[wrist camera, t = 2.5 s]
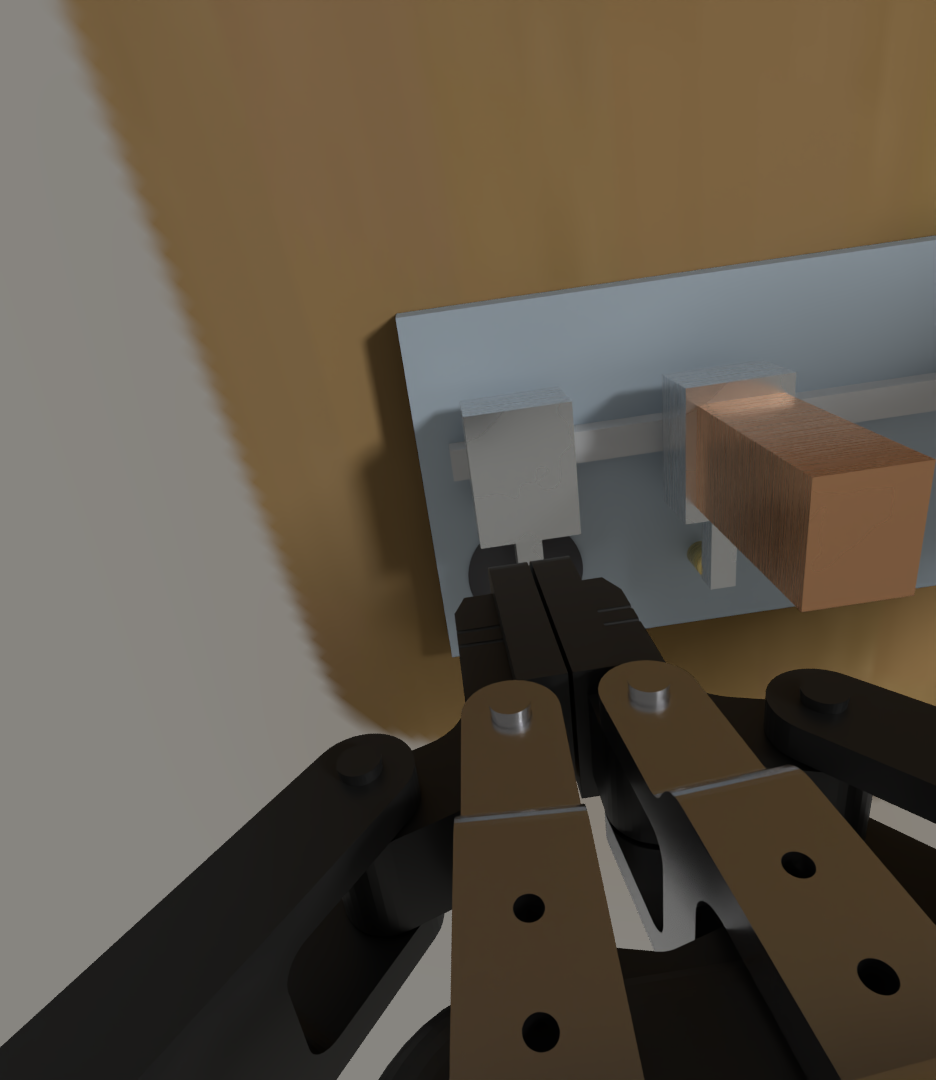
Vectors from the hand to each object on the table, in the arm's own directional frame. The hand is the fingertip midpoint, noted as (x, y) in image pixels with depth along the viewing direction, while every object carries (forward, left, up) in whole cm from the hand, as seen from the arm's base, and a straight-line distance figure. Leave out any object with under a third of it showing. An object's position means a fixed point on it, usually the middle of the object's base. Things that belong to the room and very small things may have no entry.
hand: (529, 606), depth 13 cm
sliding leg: (-7, +2, -10) cm, 12 cm away
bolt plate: (-8, +2, -11) cm, 14 cm away
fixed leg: (-1, +2, -10) cm, 10 cm away
